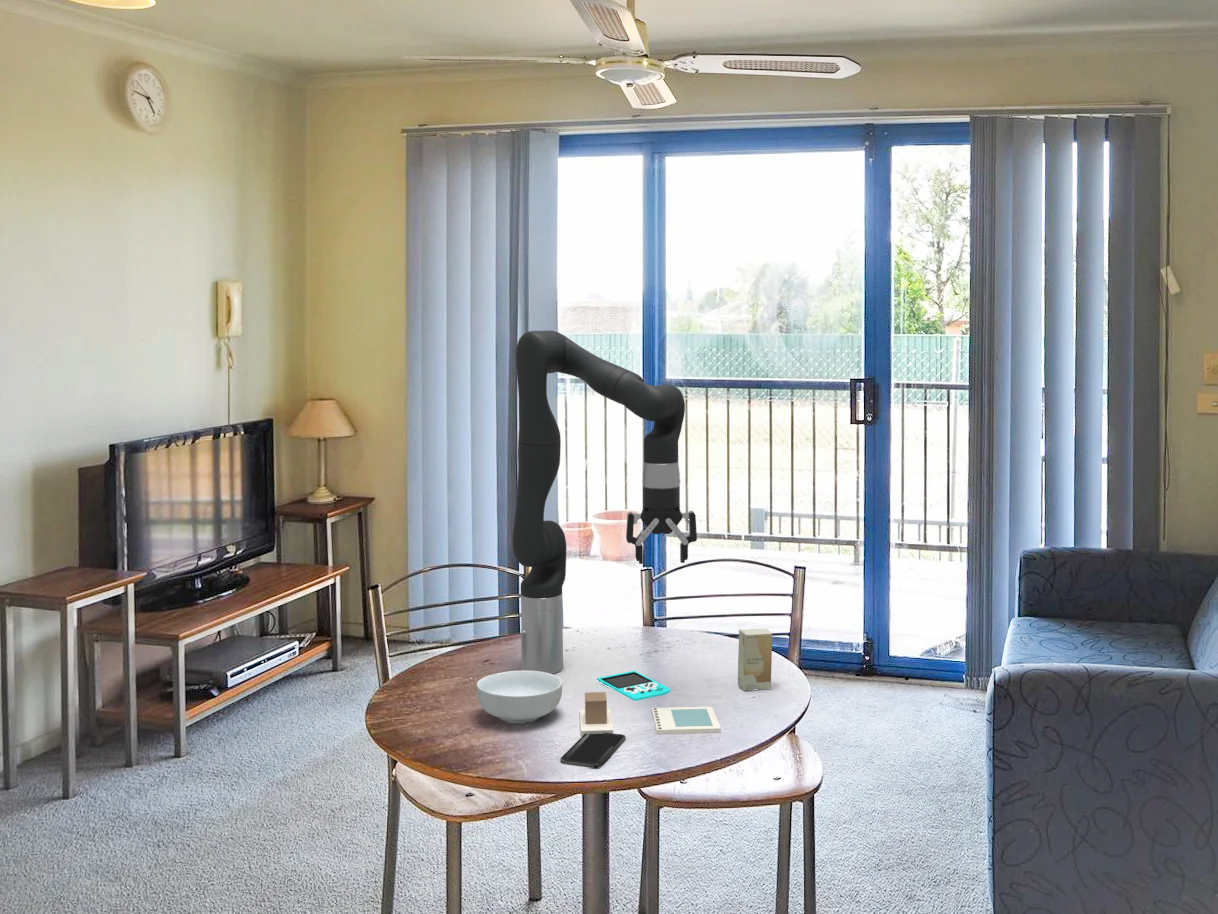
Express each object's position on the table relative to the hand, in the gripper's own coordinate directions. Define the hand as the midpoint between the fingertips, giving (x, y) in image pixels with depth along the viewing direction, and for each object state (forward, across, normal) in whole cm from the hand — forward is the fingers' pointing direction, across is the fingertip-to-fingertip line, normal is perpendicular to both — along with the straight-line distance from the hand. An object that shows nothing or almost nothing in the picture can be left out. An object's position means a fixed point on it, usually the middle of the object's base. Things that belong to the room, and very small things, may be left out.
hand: (661, 562), depth 228 cm
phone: (+29, +15, +29) cm, 43 cm away
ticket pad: (+28, -3, +16) cm, 32 cm away
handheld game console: (+29, +5, -6) cm, 30 cm away
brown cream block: (+28, +14, +16) cm, 35 cm away
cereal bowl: (+28, +29, +10) cm, 42 cm away
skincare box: (+28, -20, -4) cm, 35 cm away
